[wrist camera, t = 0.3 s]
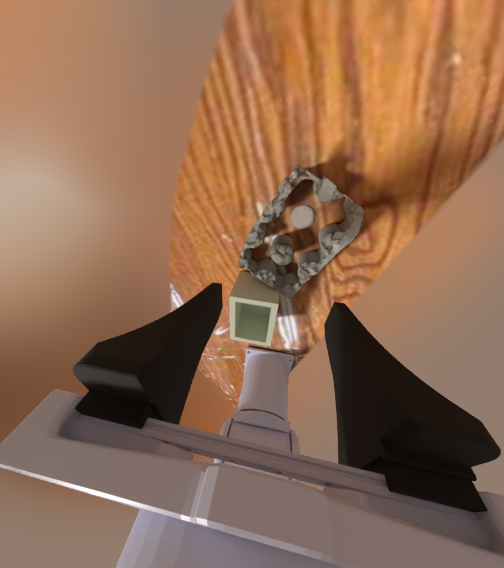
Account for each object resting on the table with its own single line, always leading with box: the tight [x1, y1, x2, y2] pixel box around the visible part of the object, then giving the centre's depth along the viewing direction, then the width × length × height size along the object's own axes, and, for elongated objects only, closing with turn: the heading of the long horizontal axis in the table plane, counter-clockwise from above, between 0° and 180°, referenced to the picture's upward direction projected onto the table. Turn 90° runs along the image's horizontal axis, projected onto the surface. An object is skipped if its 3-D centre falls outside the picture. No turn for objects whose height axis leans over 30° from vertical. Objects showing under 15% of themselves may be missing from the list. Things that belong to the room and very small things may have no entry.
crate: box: [230, 271, 280, 347], centre depth 23 cm, size 7×5×5 cm
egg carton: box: [238, 165, 365, 299], centre depth 18 cm, size 11×8×4 cm
